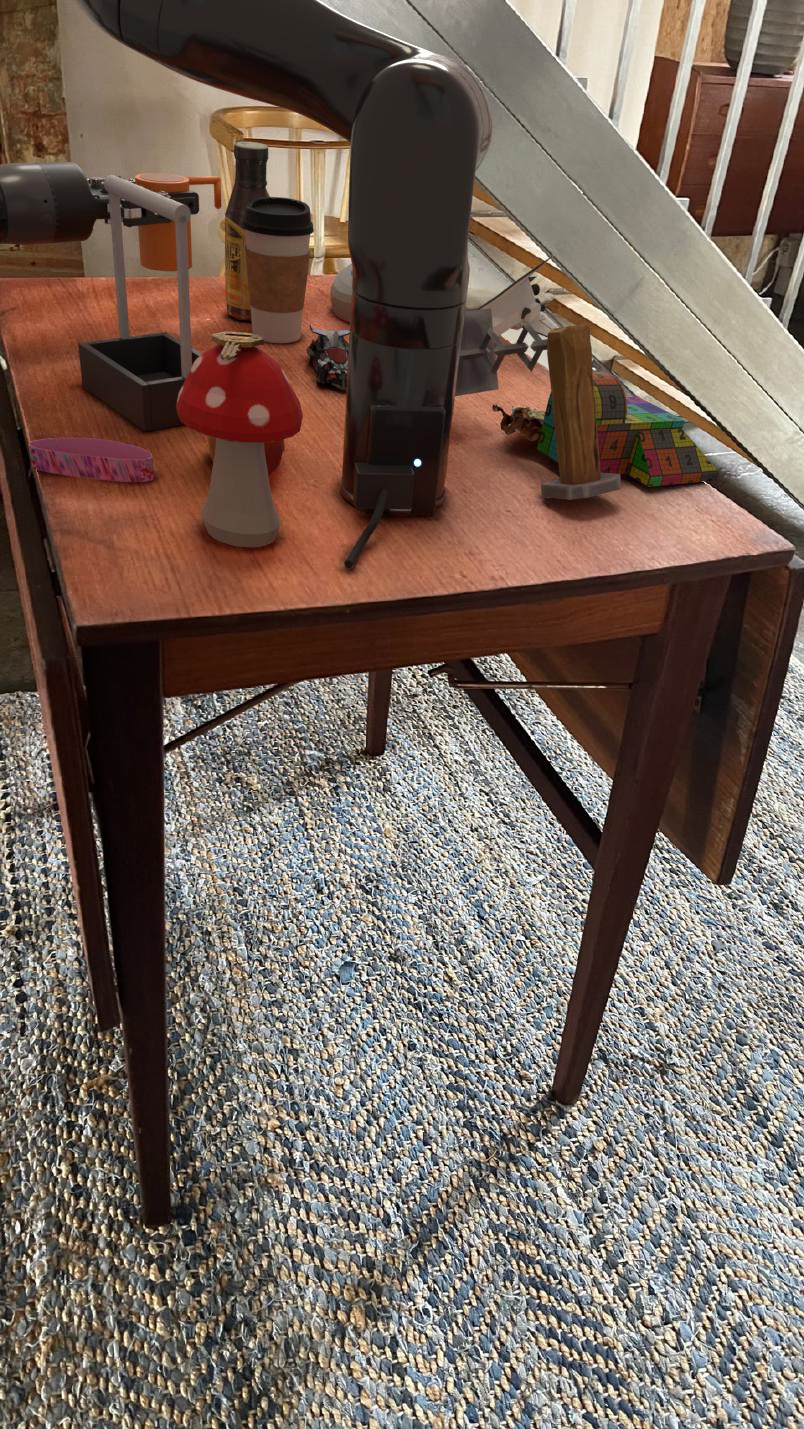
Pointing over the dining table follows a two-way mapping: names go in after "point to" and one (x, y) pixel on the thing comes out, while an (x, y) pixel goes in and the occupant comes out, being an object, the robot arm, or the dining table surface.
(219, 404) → the decorative mushroom
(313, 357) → the toy car
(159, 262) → the orange mug
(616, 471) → the building blocks
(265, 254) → the coffee cup
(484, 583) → the dining table surface
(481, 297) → the arrowhead
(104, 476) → the headband
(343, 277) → the decorative stone
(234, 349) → the key
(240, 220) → the sauce bottle
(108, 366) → the basket
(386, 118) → the robot arm
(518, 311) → the space shuttle model
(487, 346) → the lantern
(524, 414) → the brown crumpled lump
